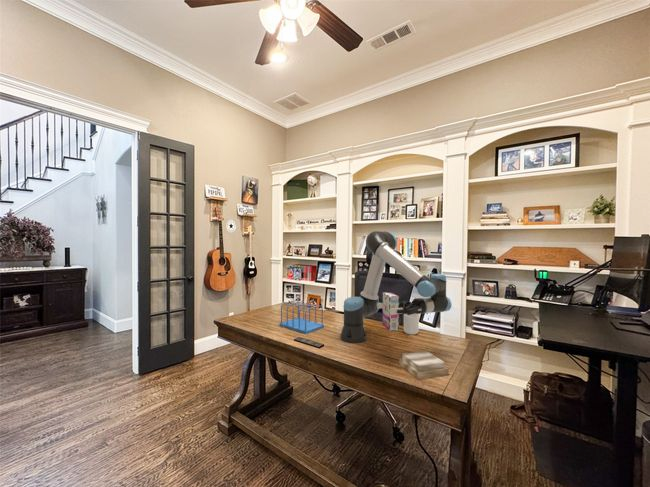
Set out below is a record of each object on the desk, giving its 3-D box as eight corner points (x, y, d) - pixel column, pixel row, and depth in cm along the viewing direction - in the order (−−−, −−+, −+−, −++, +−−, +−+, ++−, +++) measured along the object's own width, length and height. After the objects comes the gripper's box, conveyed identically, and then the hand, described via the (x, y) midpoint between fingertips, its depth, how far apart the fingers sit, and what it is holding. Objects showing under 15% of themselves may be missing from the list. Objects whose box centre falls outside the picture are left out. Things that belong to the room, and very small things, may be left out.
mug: (413, 336, 165) (413, 317, 164) (400, 332, 171) (401, 314, 171) (423, 331, 173) (423, 314, 173) (410, 328, 179) (411, 311, 179)
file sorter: (279, 325, 184) (279, 303, 184) (298, 320, 197) (298, 299, 197) (305, 334, 168) (305, 309, 167) (324, 327, 181) (324, 304, 181)
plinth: (398, 363, 127) (398, 353, 127) (426, 360, 131) (426, 349, 131) (418, 379, 113) (418, 367, 113) (448, 374, 117) (448, 363, 117)
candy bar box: (399, 331, 127) (399, 296, 127) (389, 331, 127) (389, 296, 127) (391, 324, 139) (391, 292, 139) (382, 324, 138) (382, 292, 138)
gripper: (438, 319, 126) (396, 323, 120) (408, 307, 149) (372, 310, 143) (438, 303, 126) (397, 306, 120) (408, 294, 149) (372, 296, 143)
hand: (383, 308), depth 132 cm, fingers closed on candy bar box, 12 cm apart
